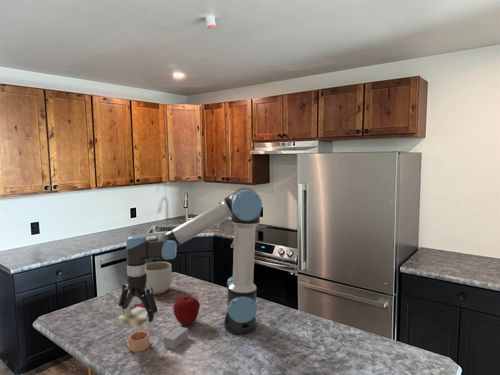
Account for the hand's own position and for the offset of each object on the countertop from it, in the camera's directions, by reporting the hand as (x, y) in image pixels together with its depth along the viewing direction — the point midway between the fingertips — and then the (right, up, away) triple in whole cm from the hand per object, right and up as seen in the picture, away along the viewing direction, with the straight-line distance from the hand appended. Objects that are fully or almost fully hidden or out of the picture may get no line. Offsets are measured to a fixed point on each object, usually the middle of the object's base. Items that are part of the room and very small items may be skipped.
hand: (138, 325), depth 139 cm
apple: (+16, -7, +20) cm, 27 cm away
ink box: (-14, -6, +39) cm, 42 cm away
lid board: (0, +3, 0) cm, 3 cm away
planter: (-9, -4, +59) cm, 60 cm away
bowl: (0, -9, +1) cm, 9 cm away
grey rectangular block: (+15, -8, +4) cm, 17 cm away
